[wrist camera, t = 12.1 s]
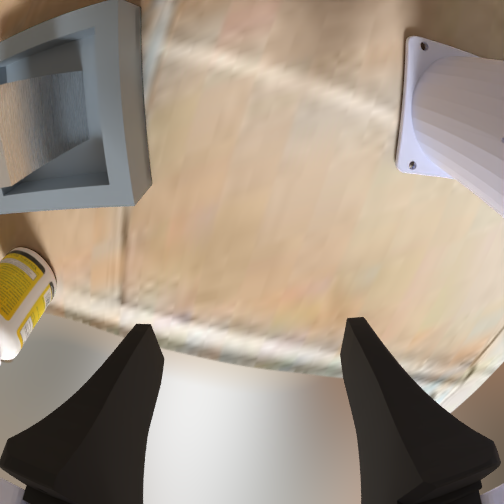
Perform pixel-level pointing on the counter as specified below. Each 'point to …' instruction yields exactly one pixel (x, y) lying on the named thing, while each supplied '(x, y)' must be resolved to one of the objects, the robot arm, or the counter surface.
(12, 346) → the supplement bottle
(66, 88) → the brushed metal top block
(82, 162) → the tray
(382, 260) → the counter surface
